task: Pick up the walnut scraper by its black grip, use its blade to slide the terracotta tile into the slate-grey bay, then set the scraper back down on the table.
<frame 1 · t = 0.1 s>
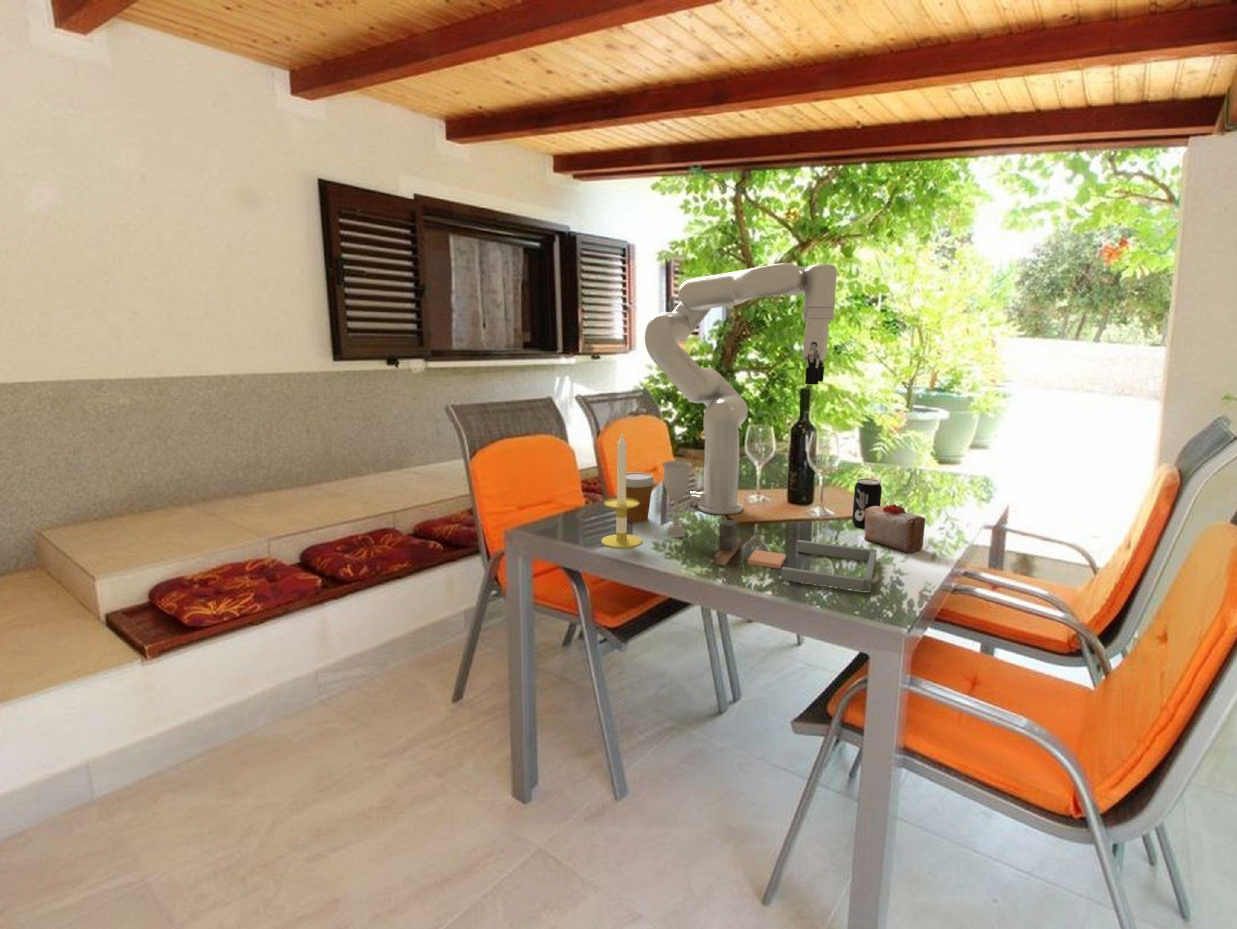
hand: (814, 382, 174), 37 cm above the table, tool pointing down, fingers open, 9 cm apart
beverage can: (865, 526, 176), on the table
disposable coffee cup: (636, 519, 181), on the table
food item: (891, 545, 162), on the table
bay: (827, 569, 145), on the table
candle: (621, 542, 163), on the table
chalice: (675, 534, 169), on the table
tile: (766, 563, 150), on the table
scraper: (727, 556, 154), on the table
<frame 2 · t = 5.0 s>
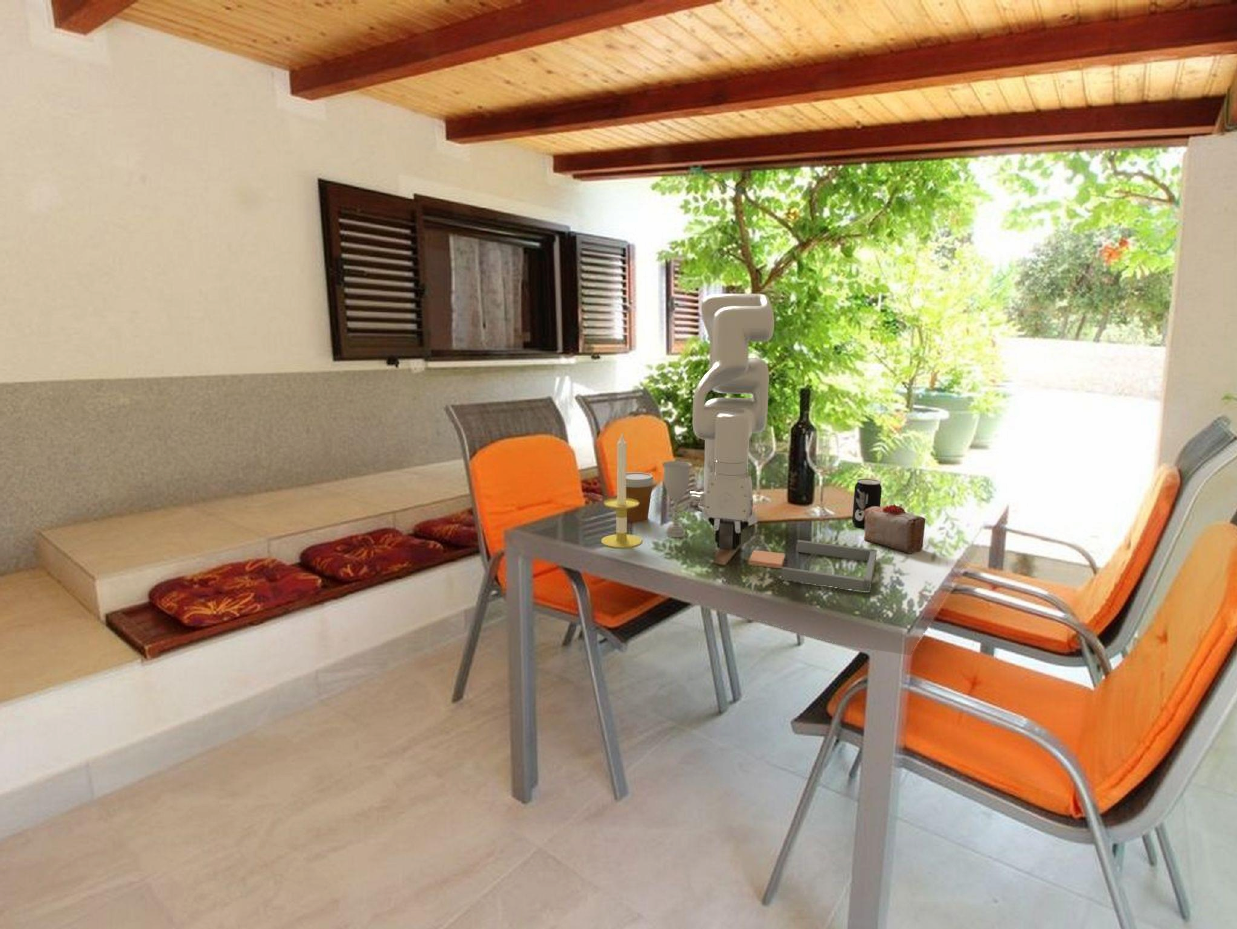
hand: (727, 546, 153), 2 cm above the table, tool pointing down, fingers closed on scraper, 2 cm apart
scraper: (727, 555, 153), on the table, touching gripper
everything else where it was.
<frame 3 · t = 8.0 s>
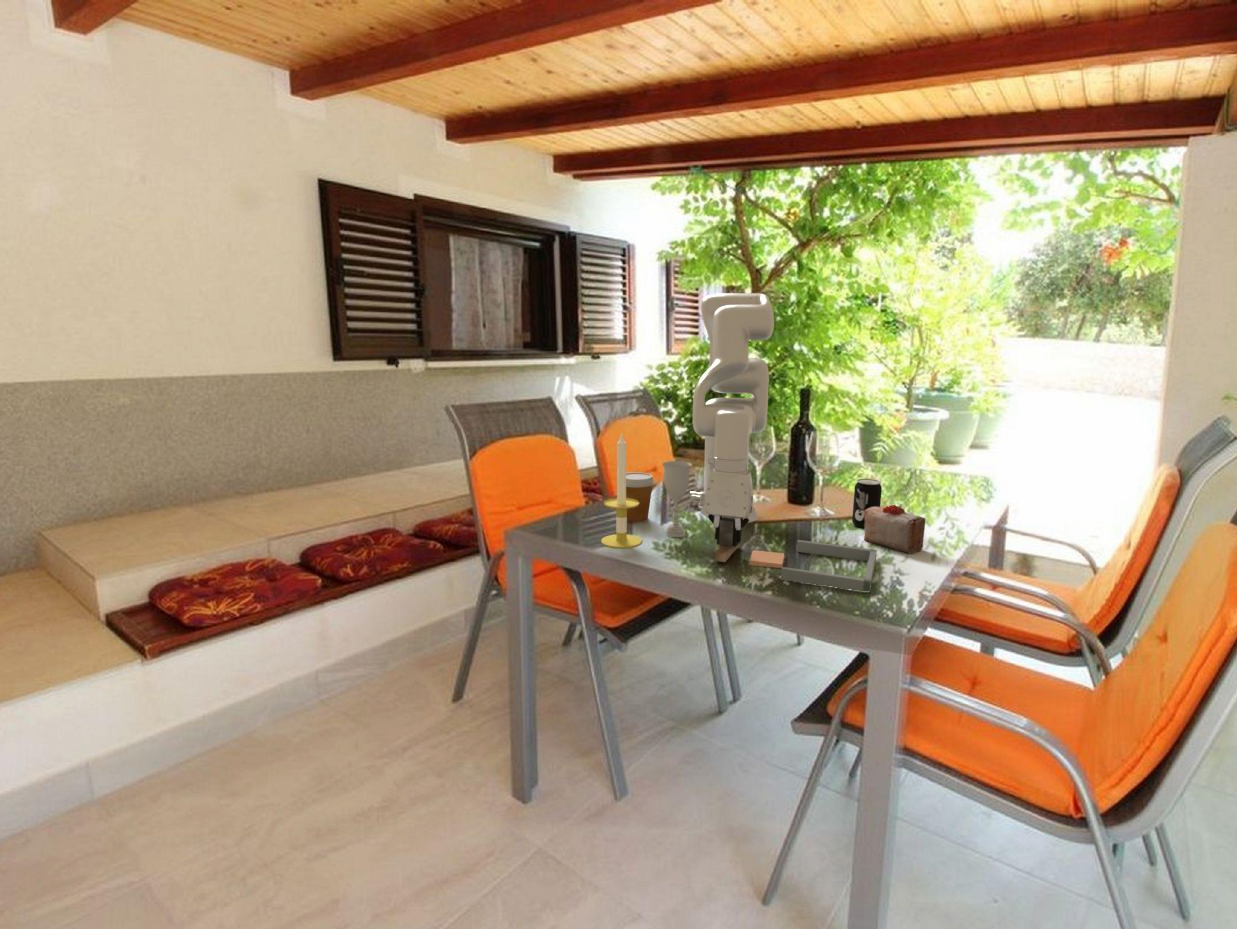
hand: (727, 543, 153), 3 cm above the table, tool pointing down, fingers closed on scraper, 3 cm apart
scraper: (727, 552, 153), point 1 cm above the table, touching gripper
everything else where it was.
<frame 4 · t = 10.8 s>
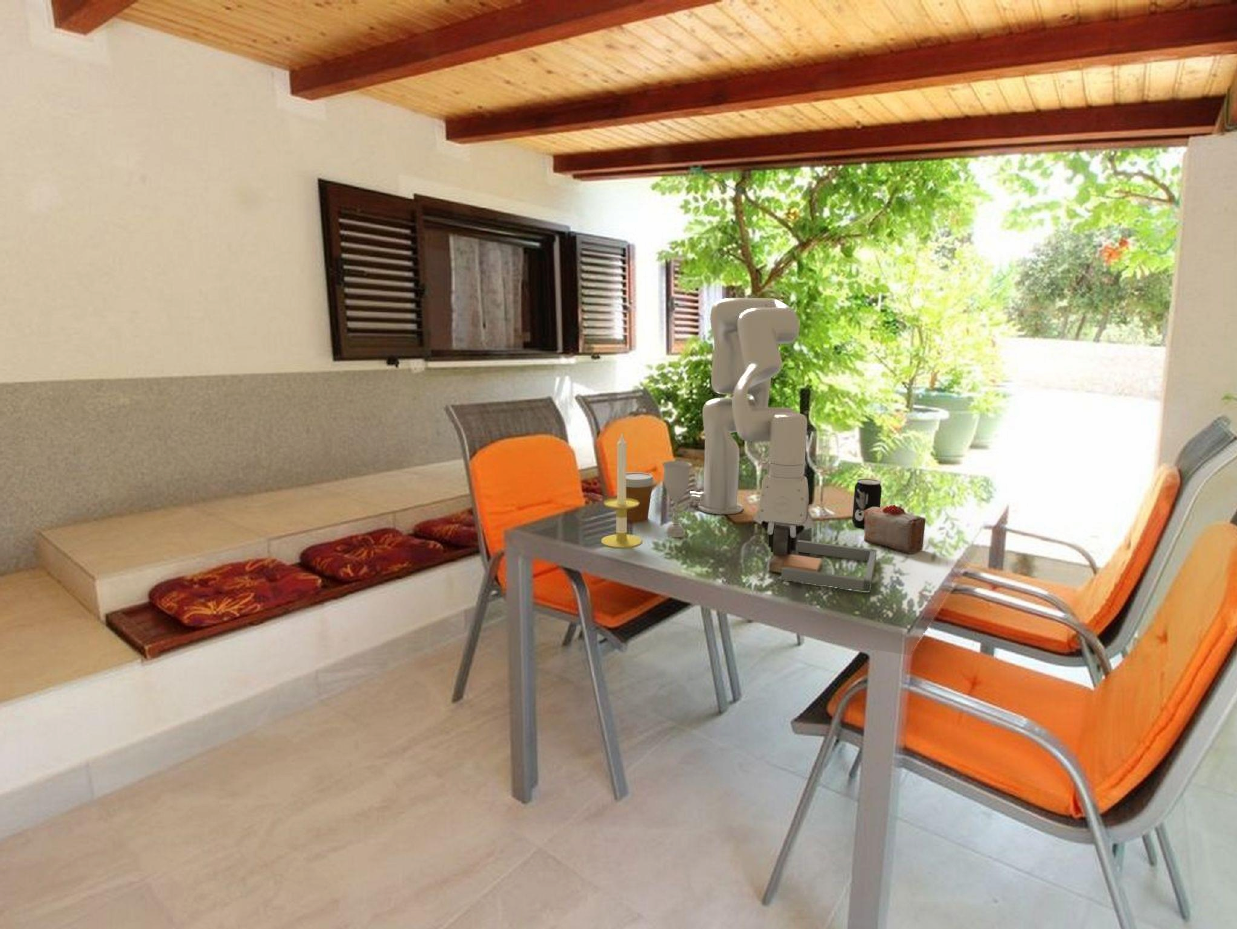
hand: (781, 550, 148), 3 cm above the table, tool pointing down, fingers closed on scraper, 2 cm apart
tile: (802, 567, 147), on the table
scraper: (780, 561, 149), on the table, touching gripper
everything else where it was.
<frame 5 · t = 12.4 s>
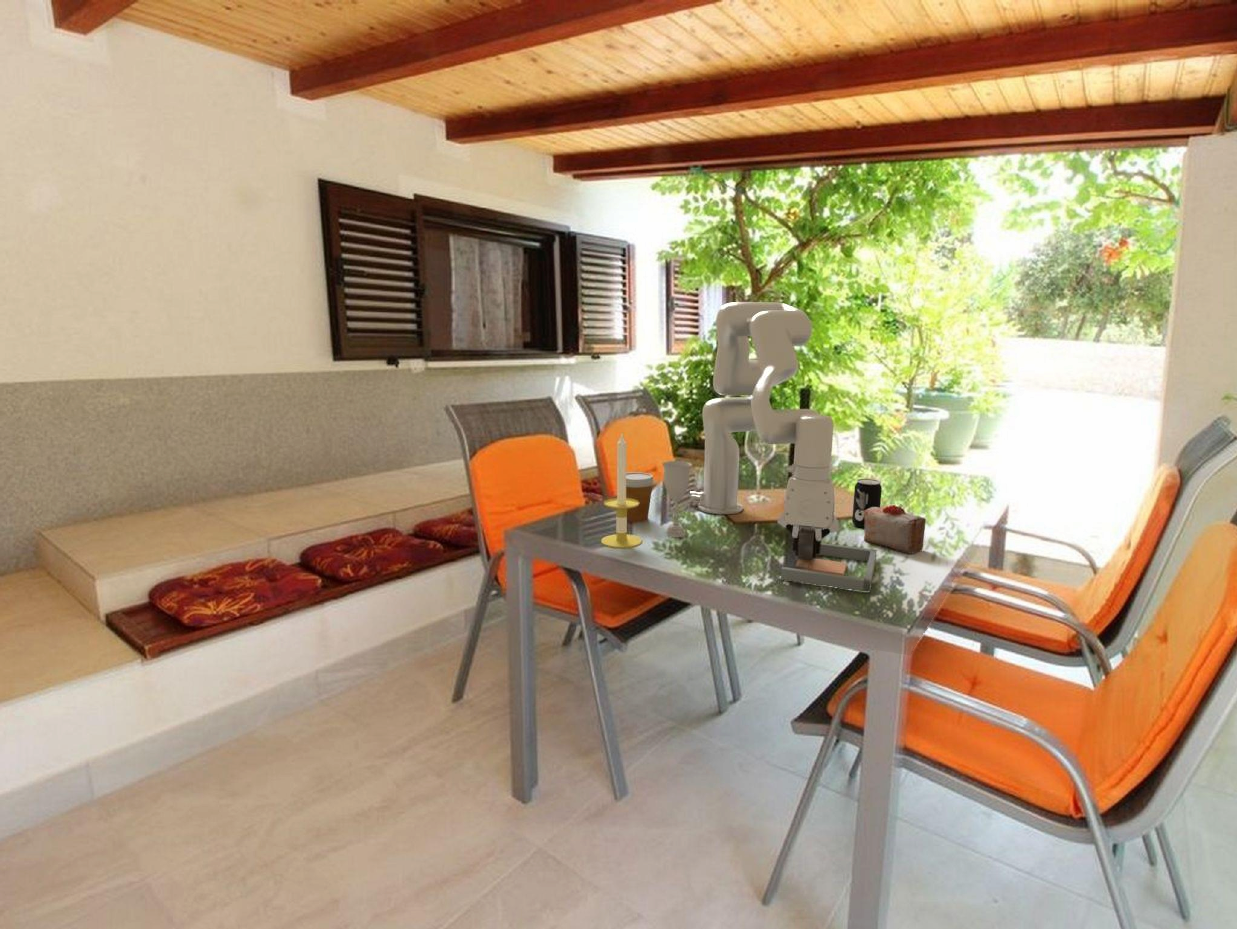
hand: (806, 554, 146), 3 cm above the table, tool pointing down, fingers closed on scraper, 2 cm apart
tile: (827, 572, 145), on the table
scraper: (805, 565, 147), on the table, touching gripper
everything else where it was.
when the fingers open (3 cm above the table, at t = 18.1 s): scraper drops 1 cm, on the table.
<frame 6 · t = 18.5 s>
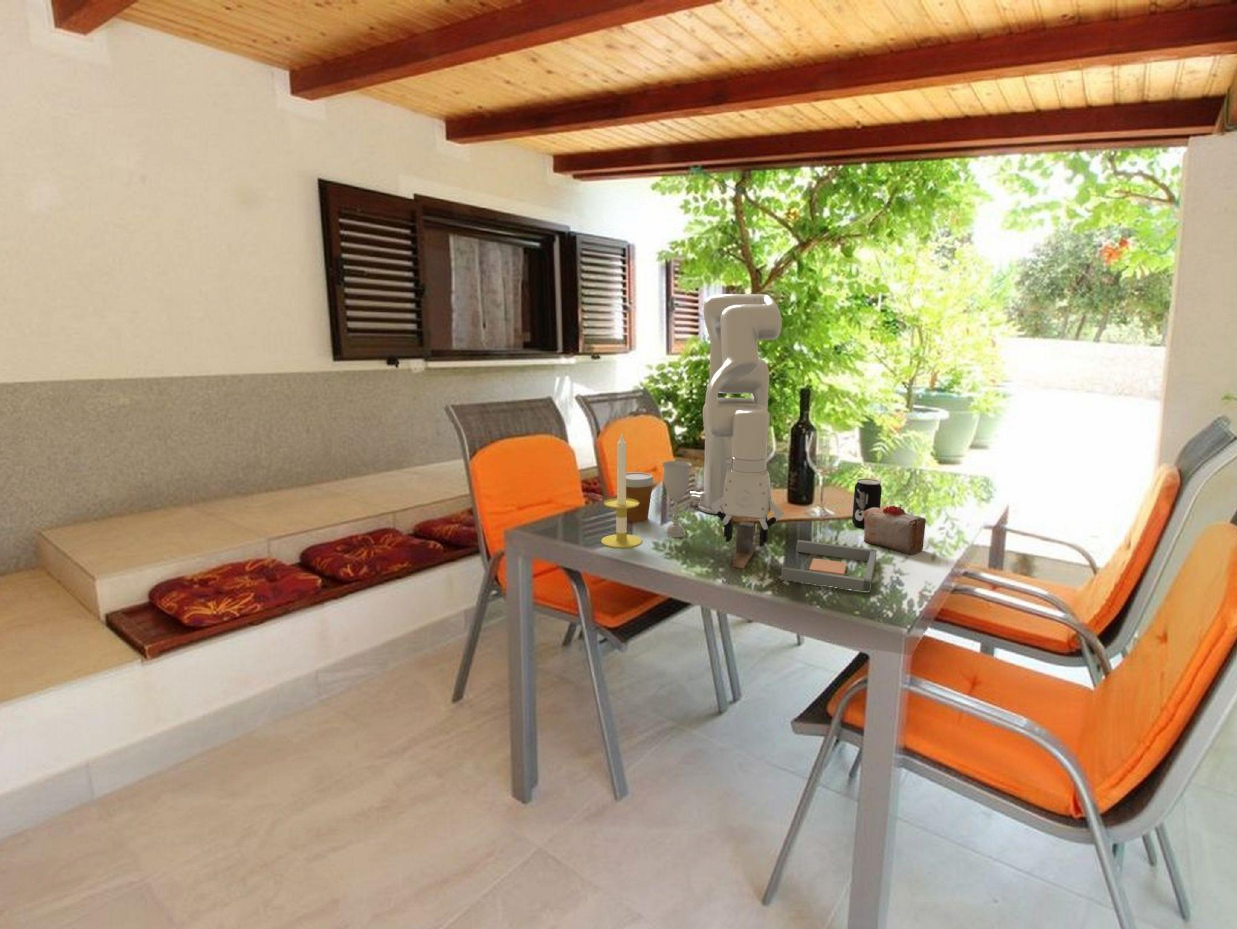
hand: (745, 541, 151), 4 cm above the table, tool pointing down, fingers open, 7 cm apart
scraper: (744, 558, 152), on the table
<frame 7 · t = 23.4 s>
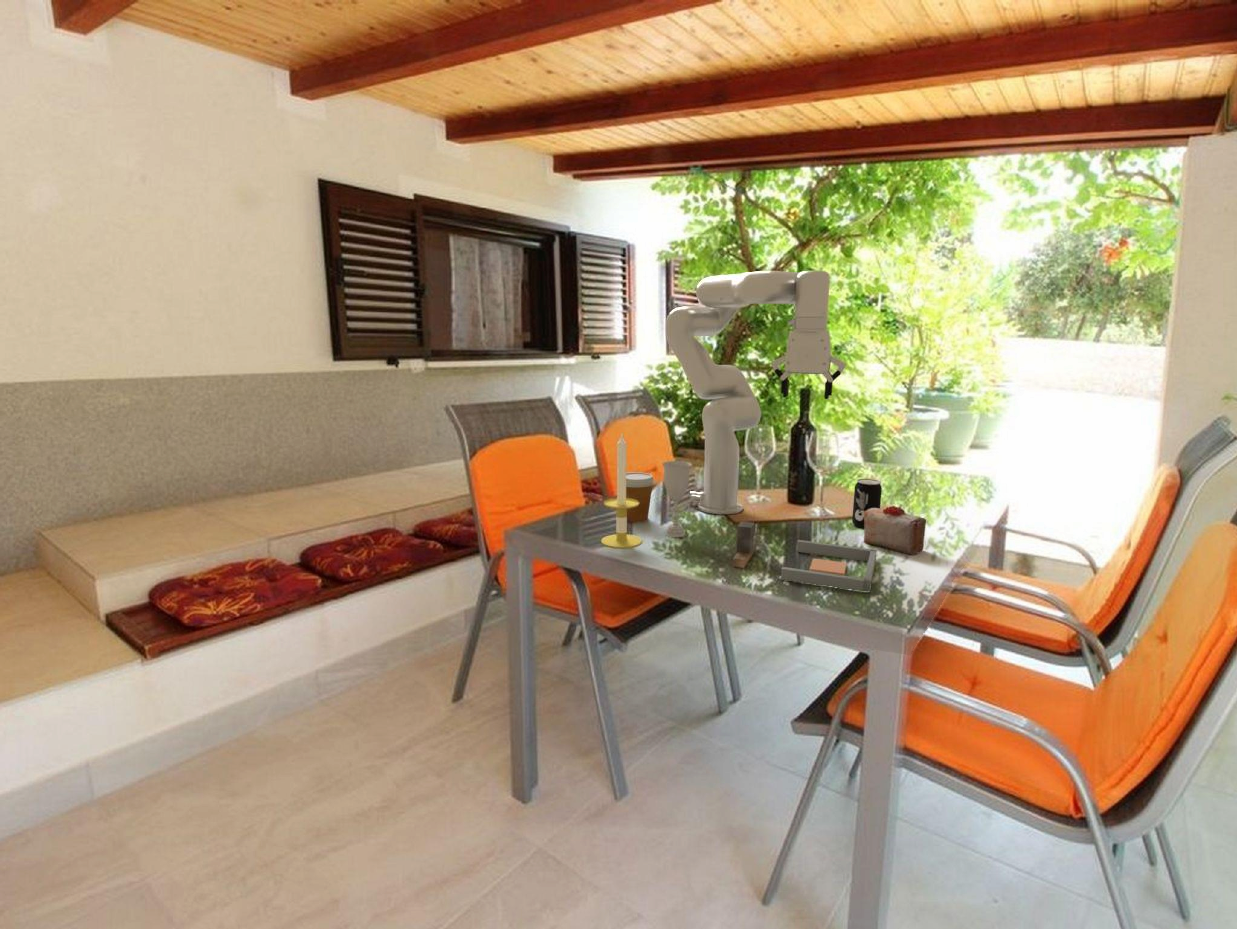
hand: (805, 397, 162), 34 cm above the table, tool pointing down, fingers open, 9 cm apart
at the end: tile inside the target area on the bay (0.2 cm from its centre), point -0.6 cm above the bay's base; the gripper is holding nothing; scraper on the table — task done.
